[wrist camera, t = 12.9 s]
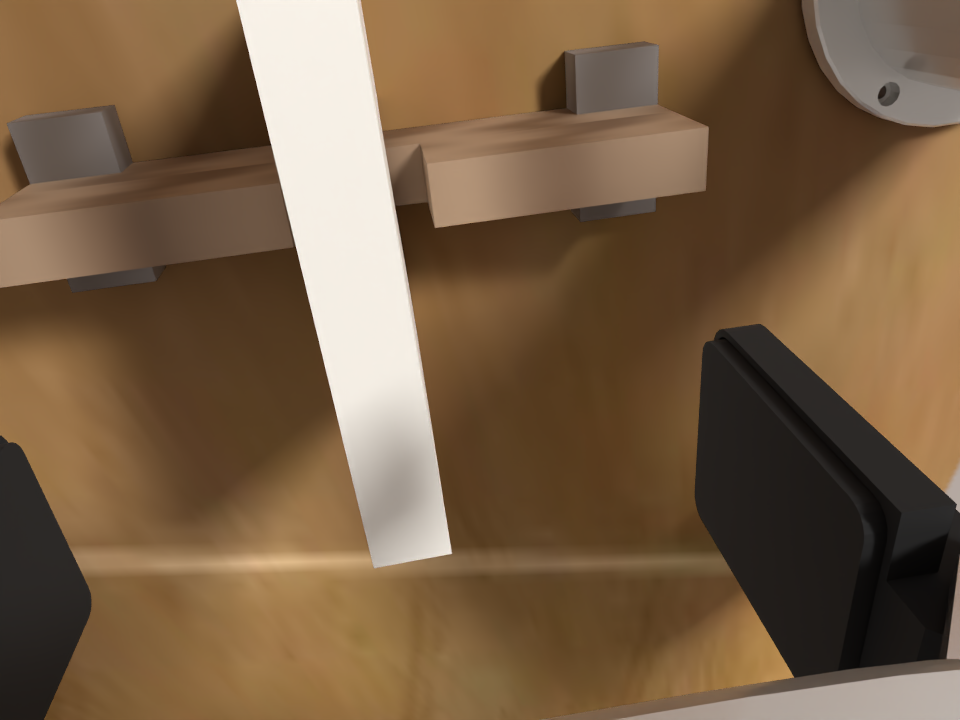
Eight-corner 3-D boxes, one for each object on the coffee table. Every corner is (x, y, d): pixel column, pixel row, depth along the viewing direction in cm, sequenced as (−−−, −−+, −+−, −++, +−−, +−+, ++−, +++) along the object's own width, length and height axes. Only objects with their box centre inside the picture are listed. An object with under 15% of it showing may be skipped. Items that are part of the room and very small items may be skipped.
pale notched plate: (351, -54, 24) (343, -82, 12) (415, 324, 31) (451, 553, 19) (290, -47, 24) (219, -67, 12) (368, 332, 31) (373, 568, 19)
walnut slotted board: (643, 41, 27) (712, 58, 22) (642, 201, 30) (702, 249, 25) (25, 115, 25) (-63, 153, 20) (85, 277, 28) (22, 347, 23)
